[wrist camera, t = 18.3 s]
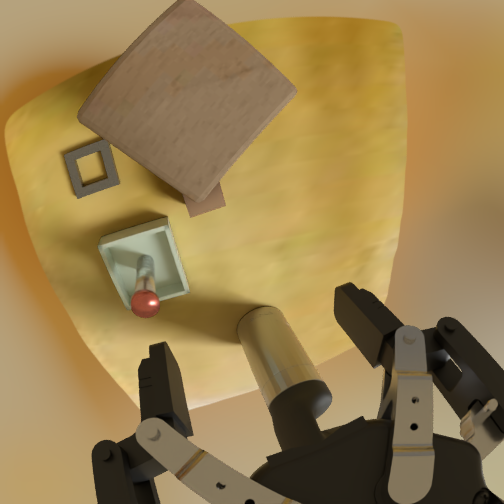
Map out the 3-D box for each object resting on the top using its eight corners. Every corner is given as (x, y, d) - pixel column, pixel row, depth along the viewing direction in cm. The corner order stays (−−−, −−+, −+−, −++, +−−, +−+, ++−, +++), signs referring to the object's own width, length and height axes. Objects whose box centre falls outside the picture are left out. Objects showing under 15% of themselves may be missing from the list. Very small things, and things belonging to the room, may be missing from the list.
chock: (217, 194, 38) (225, 205, 34) (186, 204, 38) (190, 217, 33) (206, 152, 35) (213, 158, 31) (173, 163, 34) (175, 171, 30)
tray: (187, 281, 43) (190, 292, 41) (128, 298, 41) (127, 310, 39) (167, 216, 37) (168, 224, 35) (101, 236, 35) (97, 246, 33)
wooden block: (119, 114, 29) (71, 118, 12) (171, 53, 27) (185, -9, 11) (179, 158, 34) (200, 208, 18) (230, 99, 32) (303, 91, 16)
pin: (160, 269, 40) (163, 313, 32) (138, 275, 39) (137, 320, 31) (153, 249, 38) (154, 291, 30) (130, 256, 38) (126, 298, 29)
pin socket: (120, 182, 33) (119, 184, 32) (78, 197, 32) (77, 199, 31) (108, 137, 30) (107, 138, 29) (65, 153, 29) (63, 154, 28)
